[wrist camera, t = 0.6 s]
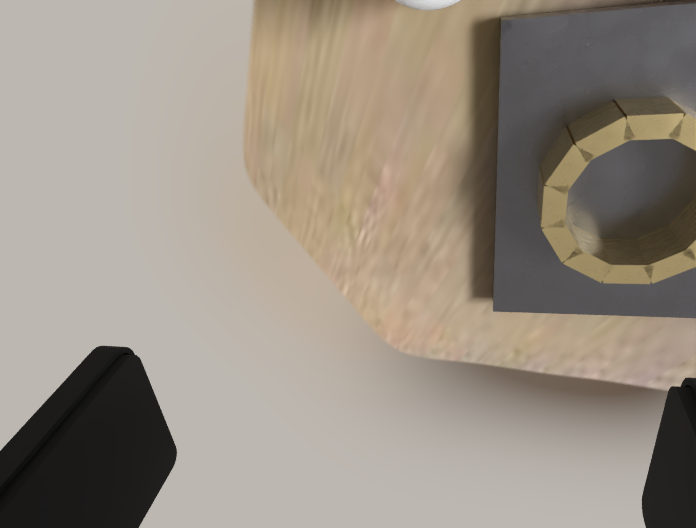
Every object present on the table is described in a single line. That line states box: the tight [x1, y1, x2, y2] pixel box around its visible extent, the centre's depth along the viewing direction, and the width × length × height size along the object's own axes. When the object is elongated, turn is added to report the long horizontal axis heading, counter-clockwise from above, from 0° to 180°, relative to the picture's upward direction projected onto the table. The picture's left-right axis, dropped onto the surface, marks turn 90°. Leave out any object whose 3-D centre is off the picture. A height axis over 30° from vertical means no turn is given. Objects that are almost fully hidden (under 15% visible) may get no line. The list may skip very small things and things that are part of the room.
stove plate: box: [493, 0, 696, 318], centre depth 30 cm, size 18×14×4 cm
